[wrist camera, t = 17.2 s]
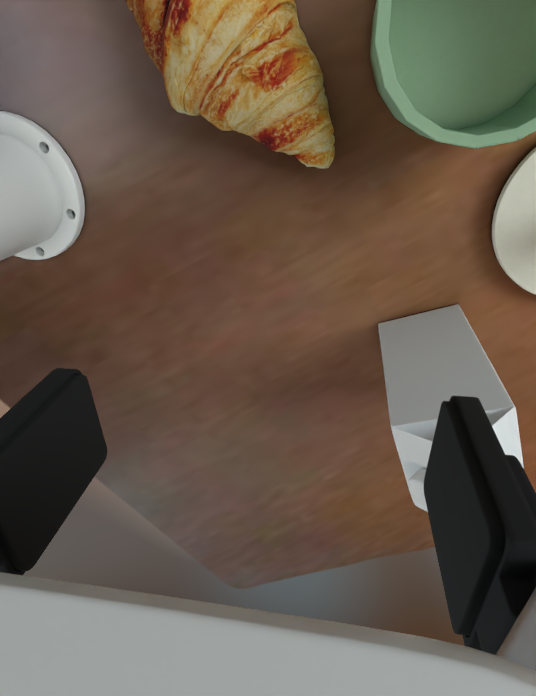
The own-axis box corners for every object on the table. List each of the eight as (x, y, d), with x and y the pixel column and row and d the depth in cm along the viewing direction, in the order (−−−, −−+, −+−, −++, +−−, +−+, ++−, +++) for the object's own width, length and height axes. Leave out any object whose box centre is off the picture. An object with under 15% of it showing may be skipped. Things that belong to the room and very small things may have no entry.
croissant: (358, 128, 35) (407, 87, 27) (277, 220, 35) (302, 205, 27) (154, -105, 29) (140, -241, 22) (59, 4, 29) (12, -92, 22)
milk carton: (458, 302, 37) (543, 455, 21) (470, 368, 40) (553, 548, 24) (377, 322, 39) (395, 474, 23) (394, 383, 42) (421, 558, 26)
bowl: (362, 141, 32) (365, 149, 26) (381, -91, 26) (391, -158, 19) (542, 139, 30) (594, 147, 24) (610, -113, 24) (707, -195, 17)
